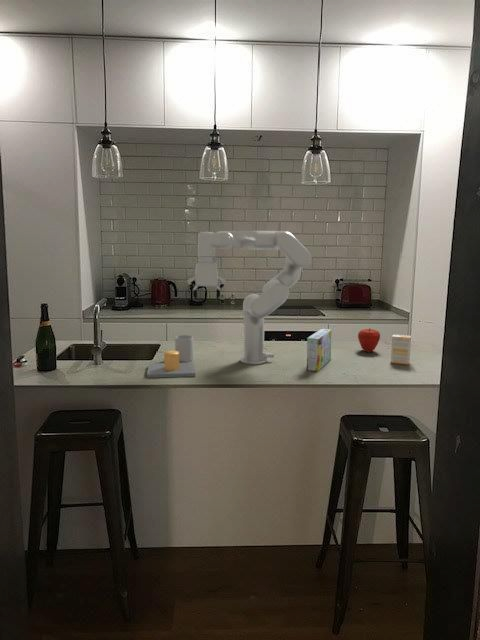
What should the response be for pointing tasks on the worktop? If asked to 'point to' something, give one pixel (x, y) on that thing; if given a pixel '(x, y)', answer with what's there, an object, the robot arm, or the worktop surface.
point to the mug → (184, 347)
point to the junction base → (159, 371)
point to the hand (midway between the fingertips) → (206, 298)
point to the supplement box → (400, 349)
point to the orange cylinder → (171, 360)
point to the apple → (368, 339)
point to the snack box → (318, 349)
